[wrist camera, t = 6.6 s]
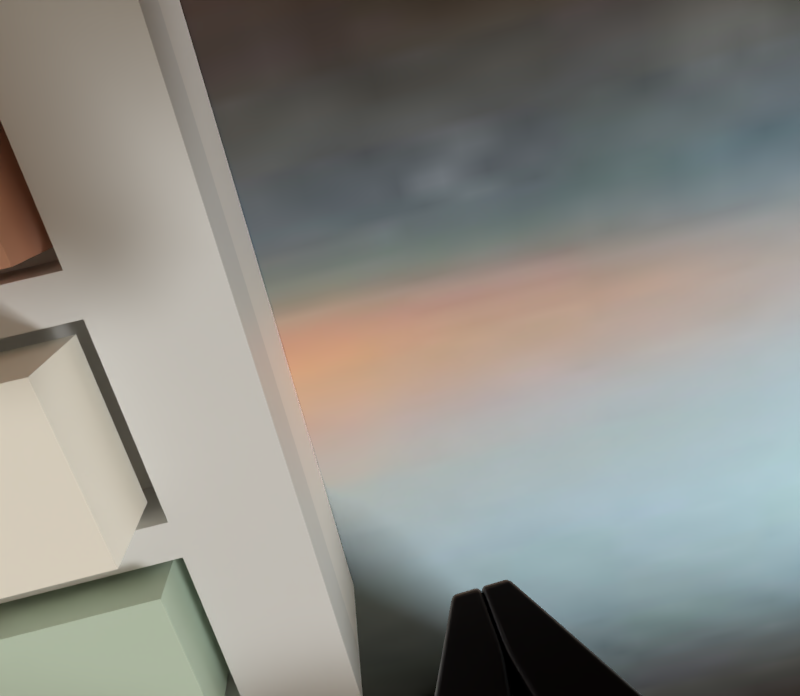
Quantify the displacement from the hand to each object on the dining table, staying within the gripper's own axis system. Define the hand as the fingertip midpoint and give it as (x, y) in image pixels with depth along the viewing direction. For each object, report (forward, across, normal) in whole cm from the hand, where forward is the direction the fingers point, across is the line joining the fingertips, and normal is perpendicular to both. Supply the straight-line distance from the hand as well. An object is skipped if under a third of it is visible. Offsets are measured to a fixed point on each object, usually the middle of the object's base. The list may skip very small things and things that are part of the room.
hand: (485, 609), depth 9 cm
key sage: (+8, +10, +5) cm, 14 cm away
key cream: (+7, +9, -2) cm, 12 cm away
